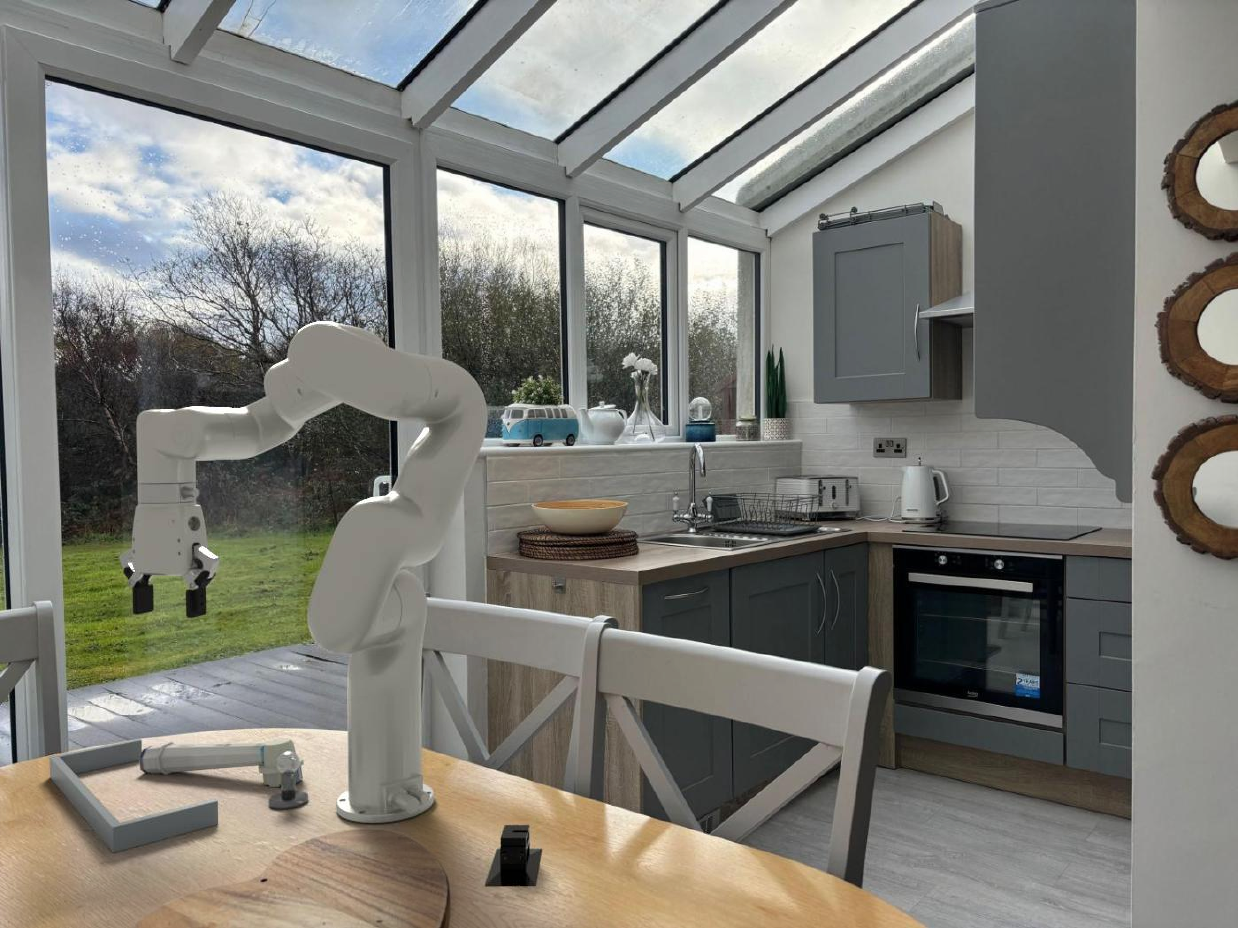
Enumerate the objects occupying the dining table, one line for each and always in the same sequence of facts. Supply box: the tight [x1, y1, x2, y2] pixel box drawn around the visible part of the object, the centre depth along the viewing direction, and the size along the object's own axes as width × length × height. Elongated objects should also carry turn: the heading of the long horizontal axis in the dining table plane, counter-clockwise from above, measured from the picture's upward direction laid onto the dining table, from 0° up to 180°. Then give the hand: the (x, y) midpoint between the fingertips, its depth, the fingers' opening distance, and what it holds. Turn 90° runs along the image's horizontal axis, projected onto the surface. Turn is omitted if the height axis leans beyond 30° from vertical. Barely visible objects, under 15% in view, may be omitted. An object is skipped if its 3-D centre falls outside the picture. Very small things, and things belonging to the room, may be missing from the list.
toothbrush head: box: [138, 737, 305, 788], centre depth 134 cm, size 5×7×25 cm
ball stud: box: [268, 751, 309, 810], centre depth 124 cm, size 5×5×7 cm
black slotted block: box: [484, 824, 544, 888], centre depth 105 cm, size 12×7×5 cm, turn 0°
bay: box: [49, 738, 219, 854], centre depth 125 cm, size 34×12×3 cm, turn 42°
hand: (169, 614), depth 133 cm, fingers open, 9 cm apart
